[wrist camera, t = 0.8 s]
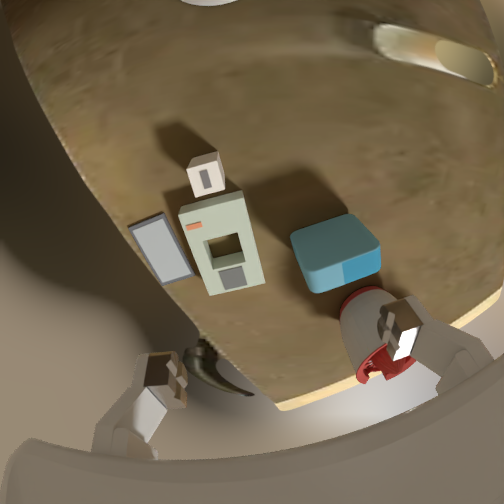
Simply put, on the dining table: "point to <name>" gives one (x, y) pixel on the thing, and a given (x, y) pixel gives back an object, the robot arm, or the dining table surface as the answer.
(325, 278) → the blue rounded block
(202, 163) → the plug
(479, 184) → the dining table surface
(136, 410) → the robot arm
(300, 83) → the dining table surface
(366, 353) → the citrus juicer
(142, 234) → the phone
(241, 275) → the socket strip
